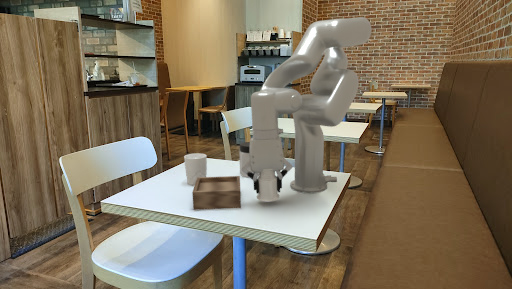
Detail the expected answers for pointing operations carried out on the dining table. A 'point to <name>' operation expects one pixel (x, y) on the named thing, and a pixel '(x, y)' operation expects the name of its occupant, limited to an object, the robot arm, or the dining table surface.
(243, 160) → the jar
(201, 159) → the white cup
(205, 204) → the walnut stand
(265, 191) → the downlight
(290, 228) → the dining table surface
